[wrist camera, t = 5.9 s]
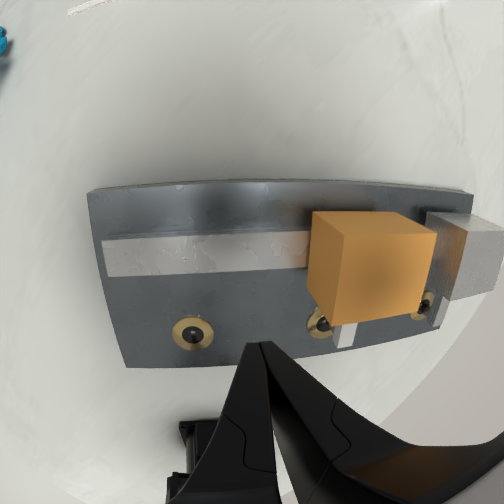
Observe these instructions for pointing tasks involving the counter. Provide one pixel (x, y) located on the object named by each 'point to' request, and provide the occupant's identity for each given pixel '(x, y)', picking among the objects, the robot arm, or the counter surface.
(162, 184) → the hole plate
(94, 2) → the fork
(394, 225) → the divider leg
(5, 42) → the gear
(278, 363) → the robot arm
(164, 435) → the counter surface
